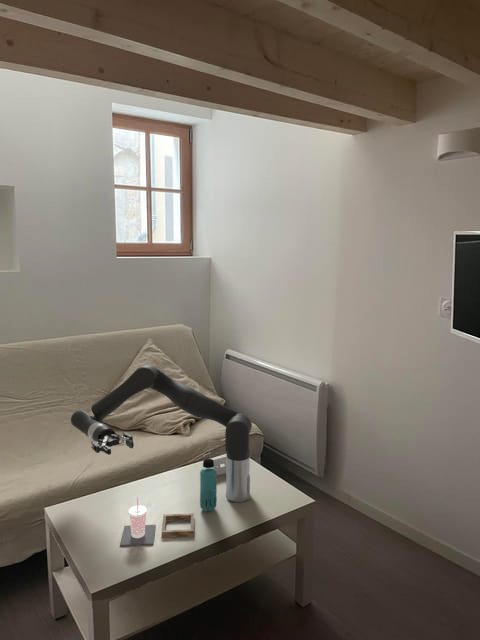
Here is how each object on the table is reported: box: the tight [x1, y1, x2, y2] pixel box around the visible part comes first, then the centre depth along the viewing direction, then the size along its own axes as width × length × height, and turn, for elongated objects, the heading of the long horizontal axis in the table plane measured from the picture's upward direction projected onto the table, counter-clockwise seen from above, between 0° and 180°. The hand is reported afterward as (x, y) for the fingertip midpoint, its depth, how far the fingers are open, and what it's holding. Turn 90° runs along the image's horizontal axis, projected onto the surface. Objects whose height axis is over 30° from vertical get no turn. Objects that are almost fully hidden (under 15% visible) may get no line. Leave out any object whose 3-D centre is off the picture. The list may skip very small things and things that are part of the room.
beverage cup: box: [128, 496, 148, 538], centre depth 168 cm, size 6×6×14 cm
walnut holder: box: [161, 513, 195, 539], centre depth 174 cm, size 11×11×2 cm
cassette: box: [211, 455, 227, 477], centre depth 215 cm, size 12×2×8 cm, turn 123°
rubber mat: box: [119, 524, 157, 547], centre depth 169 cm, size 11×11×1 cm
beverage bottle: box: [199, 458, 218, 512], centre depth 184 cm, size 6×7×20 cm
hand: (121, 448), depth 173 cm, fingers open, 8 cm apart
